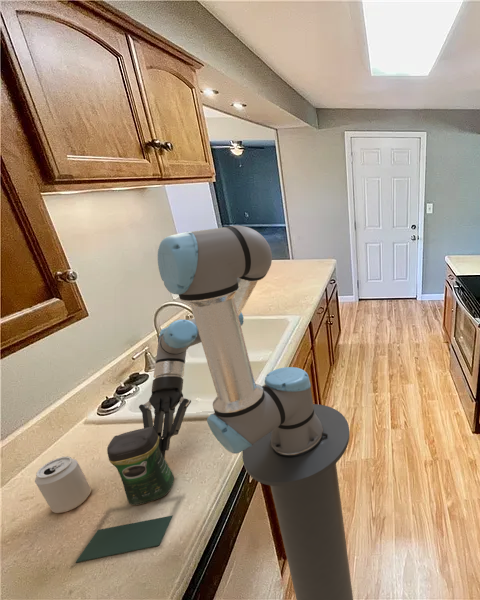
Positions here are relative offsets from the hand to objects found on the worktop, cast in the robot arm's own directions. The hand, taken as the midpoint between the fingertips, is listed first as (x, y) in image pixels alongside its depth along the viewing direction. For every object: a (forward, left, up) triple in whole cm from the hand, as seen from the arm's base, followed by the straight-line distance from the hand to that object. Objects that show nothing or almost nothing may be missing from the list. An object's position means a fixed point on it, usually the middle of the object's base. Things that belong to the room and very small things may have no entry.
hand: (158, 464), depth 89 cm
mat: (0, +15, -4) cm, 15 cm away
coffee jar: (0, +5, -4) cm, 6 cm away
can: (+19, +4, -4) cm, 20 cm away
